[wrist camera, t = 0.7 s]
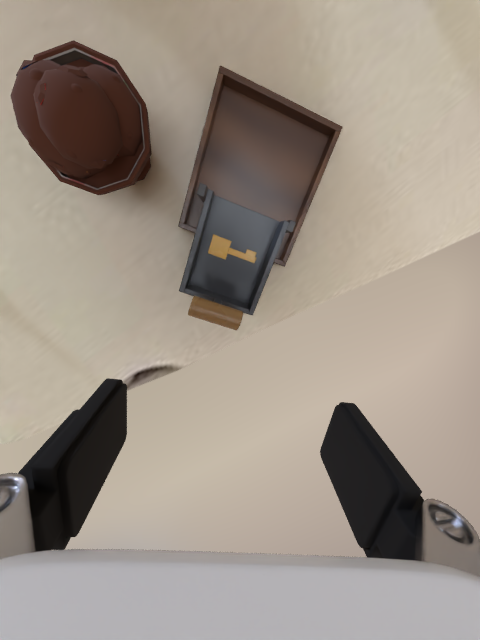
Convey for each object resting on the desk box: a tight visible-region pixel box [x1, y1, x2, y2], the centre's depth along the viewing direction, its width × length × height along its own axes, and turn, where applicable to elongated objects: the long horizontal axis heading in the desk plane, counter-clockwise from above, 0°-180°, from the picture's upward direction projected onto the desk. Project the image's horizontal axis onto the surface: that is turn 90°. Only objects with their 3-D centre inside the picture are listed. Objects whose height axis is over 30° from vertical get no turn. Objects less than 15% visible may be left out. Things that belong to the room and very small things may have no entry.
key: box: [208, 234, 256, 263], centre depth 28 cm, size 6×2×1 cm, turn 70°
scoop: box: [179, 189, 289, 330], centre depth 25 cm, size 12×9×8 cm
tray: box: [179, 66, 342, 266], centre depth 28 cm, size 17×15×7 cm
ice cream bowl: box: [11, 41, 151, 195], centre depth 23 cm, size 11×11×15 cm
